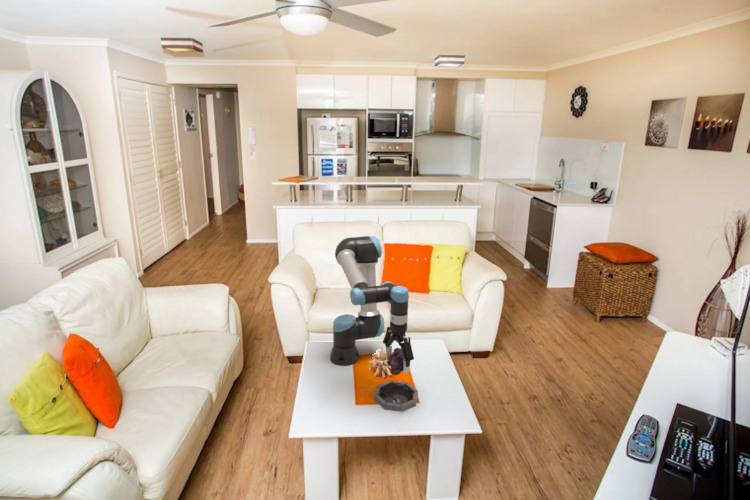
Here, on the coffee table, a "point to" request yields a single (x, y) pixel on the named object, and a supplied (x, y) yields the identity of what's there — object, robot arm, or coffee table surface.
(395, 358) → the rock
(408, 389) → the collar
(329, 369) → the coffee table surface
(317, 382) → the coffee table surface
